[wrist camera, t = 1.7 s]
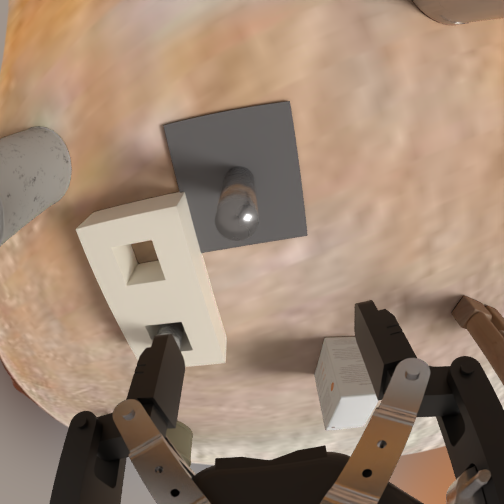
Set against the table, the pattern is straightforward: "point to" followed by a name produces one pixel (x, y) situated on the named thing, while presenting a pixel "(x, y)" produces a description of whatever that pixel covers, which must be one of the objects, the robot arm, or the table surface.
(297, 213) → the mat
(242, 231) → the steel pin
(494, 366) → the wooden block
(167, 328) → the seated pin
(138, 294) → the bore block
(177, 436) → the can
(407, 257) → the table surface
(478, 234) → the table surface
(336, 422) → the small box
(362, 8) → the table surface
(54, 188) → the grey concrete cylinder
